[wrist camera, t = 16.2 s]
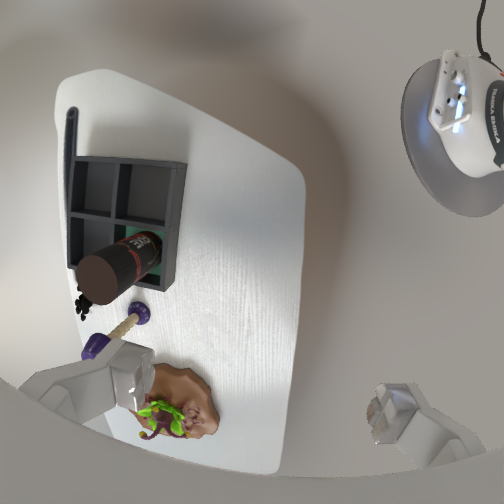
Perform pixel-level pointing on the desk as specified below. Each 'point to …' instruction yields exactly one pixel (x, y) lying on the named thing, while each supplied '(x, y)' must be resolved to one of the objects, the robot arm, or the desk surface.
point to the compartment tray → (125, 208)
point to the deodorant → (118, 266)
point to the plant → (177, 405)
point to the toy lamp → (116, 330)
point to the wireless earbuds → (82, 305)
